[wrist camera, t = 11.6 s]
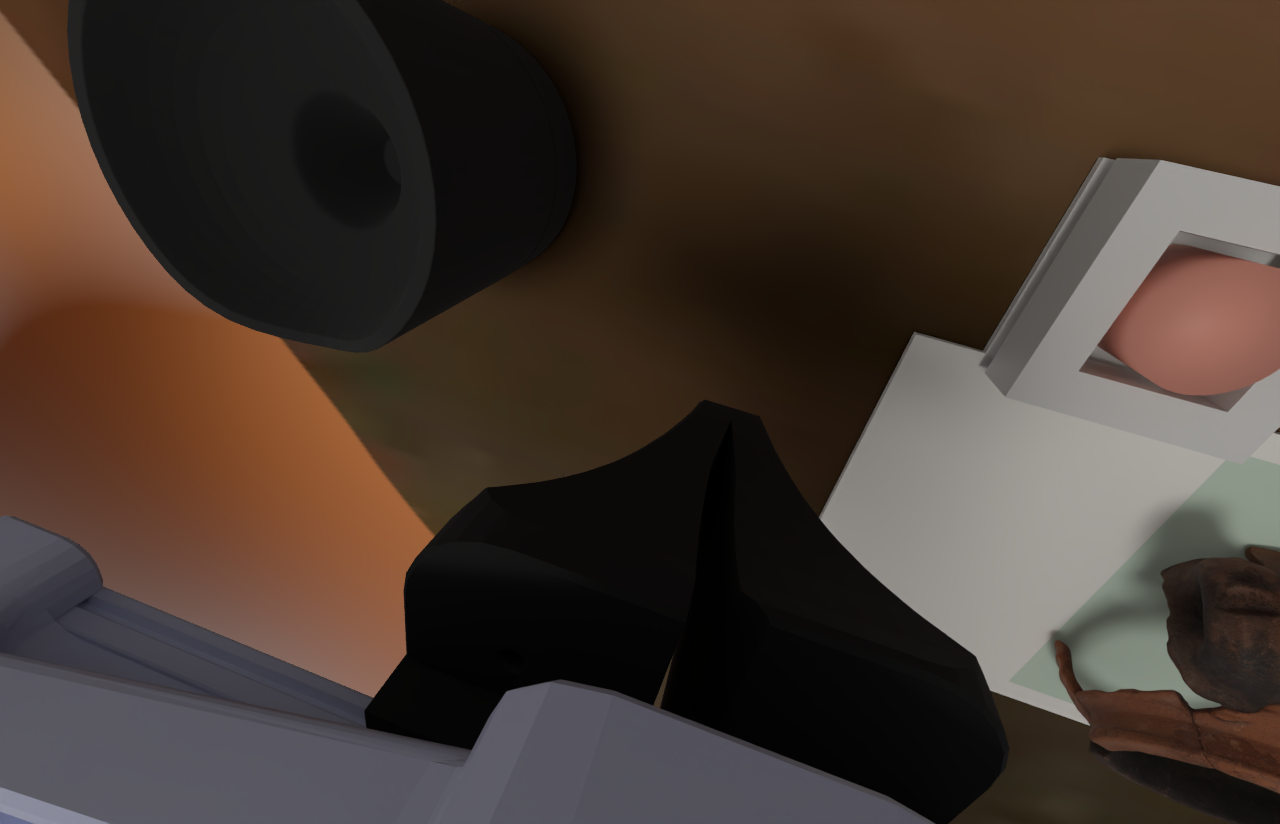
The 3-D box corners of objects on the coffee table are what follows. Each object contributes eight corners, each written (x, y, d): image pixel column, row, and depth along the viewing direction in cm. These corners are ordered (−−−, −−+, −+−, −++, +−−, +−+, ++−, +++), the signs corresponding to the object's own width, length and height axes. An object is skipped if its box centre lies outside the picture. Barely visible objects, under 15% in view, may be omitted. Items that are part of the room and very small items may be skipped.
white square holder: (1177, 419, 18) (1241, 464, 16) (975, 362, 19) (1005, 397, 16) (1356, 215, 15) (1477, 230, 12) (1098, 157, 15) (1160, 159, 13)
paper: (1312, 798, 24) (1318, 806, 24) (771, 608, 27) (771, 613, 27) (1755, 563, 16) (1771, 570, 16) (914, 331, 19) (915, 334, 19)
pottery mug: (1391, 658, 20) (1455, 912, 16) (1079, 607, 27) (1072, 776, 23) (1427, 480, 15) (1539, 803, 11) (1023, 474, 22) (1002, 668, 18)
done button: (1169, 368, 17) (1243, 411, 14) (1057, 338, 17) (1107, 373, 15) (1257, 261, 15) (1359, 287, 12) (1129, 230, 16) (1201, 249, 13)
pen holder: (452, -64, 17) (114, -274, 8) (640, 163, 19) (517, 179, 10) (337, 153, 22) (40, 159, 13) (497, 320, 23) (328, 422, 15)
